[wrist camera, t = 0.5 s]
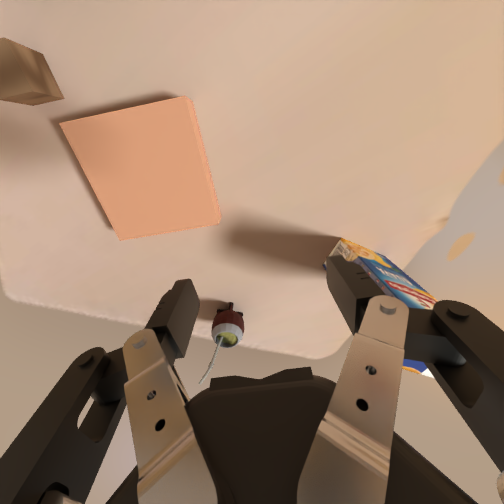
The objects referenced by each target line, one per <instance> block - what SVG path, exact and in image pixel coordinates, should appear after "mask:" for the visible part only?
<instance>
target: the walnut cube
mask: <svg viewBox="0 0 504 504" xmlns="http://www.w3.org/2000/svg"><path fill="white" fill-rule="evenodd" d="M61 99H64V97H63V95H62V93H61V91H60V89H59V87H58V85H57V83H56V81H55V78H54V76H53V74H52V72H51V70H50V68H49V66H48V64H47V62H46V60H45V58H44V56H43V54H41V53H39V52H37V51H34V50H32V49H30V48H27V47H25V46H23V45H20V44H18V43H16V42H13V41H11V40H9V39H6V38H1V39H0V100H4V101H10V102H15V103H21V104H27V105H33V106H34V105H38V104H43V103H47V102H52V101H56V100H61Z"/></svg>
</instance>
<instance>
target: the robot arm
mask: <svg viewBox="0 0 504 504" xmlns="http://www.w3.org/2000/svg"><path fill="white" fill-rule="evenodd" d="M326 272H327V284H328V288H329V290H330V292H331V294H332V296H333V298H334V300H335V302H336V303H337V305H338V307H339V309H340V311H341V313H342V315H343V317H344V319H345V321H346V322H347V324H348V326H349V328H350V330H351V332H352V334H353V336H354V337H353V340H352V343H351V346H350V348H349V351H348V354H347V357H346V360H345V362H344V365H343V368H342V370H341V373H340V376H339V379H338V381H337V383H335V382H333V381H331V380H329V379H326V378H323V377H320V376H315V375H312V370H311V367H303V368H296V369H286V370H283V371H281V372H278V373H275V374H273V375H270V376H268V377H265V378H263V379H253V378H247V377H241V376H227V377H219V378H211V382H210V387H209V388H207V389H205V390H203V391H201V392H200V393H198V394H197V395H196V396H194V397H193V398H192V399H191V400H190V398H189V396H188V394H187V392H186V389H185V387H184V385H183V383H182V381H181V378H180V376H179V374H178V372H177V370H176V368H175V366H174V361H175V359H177V358H184V356H185V353H186V350H187V347H188V344H189V340H190V337H191V334H192V330H193V327H194V324H195V321H196V317H197V314H198V311H199V307H200V302H199V298H198V295H197V293H196V290H195V288H194V285H193V283H192V281H191V279H183V280H177V281H176V282H175V284H174V286H173V288H172V290H169V291H168V292H167V293H166V294H165V295H164V296H163V297H162V298H161V300H160V302H159V304H158V305H157V307H156V310H155V311H154V312H153V314H152V316H151V318H150V320H149V321H148V323H147V325H146V327H145V328H144V329H143V330H140V331H138V332H136V333H135V334H133V335H132V336H131V337H130V338H129V339H128V340H127V341H126V342H125V344H124V346H123V347H122V348H119V349H117V350H114V351H112V352H109V353H106V351H105V350H104V349H103V348H101V347H96V348H92V349H90V350H88V351H86V352H84V353H83V354H81V355H80V356H79V357H78V358H76V359H75V361H73V363H72V364H71V365H70V366H69V368H68V369H67V370H66V372H65V373H64V374H63V376H62V377H61V378H60V380H59V381H58V382H57V384H56V385H55V386H54V388H53V389H52V390H51V392H50V393H49V395H48V396H47V397H46V398H45V400H44V401H43V403H42V404H41V405H40V406H39V408H38V409H37V411H36V412H35V413H34V414H33V416H32V417H31V419H30V420H29V421H28V422H27V424H26V425H25V427H24V428H23V429H22V431H21V432H20V433H19V434H18V436H17V437H16V438H15V440H14V441H13V442H12V444H11V445H10V447H9V448H8V449H7V450H6V452H5V453H4V454H3V456H2V457H1V458H0V504H85V501H86V499H87V497H88V495H89V492H90V490H91V487H92V485H93V483H94V480H95V478H96V475H97V473H98V471H99V468H100V466H101V464H102V461H103V459H104V457H105V454H106V452H107V449H108V447H109V445H110V442H111V440H112V438H113V435H114V433H115V430H116V428H117V426H118V423H119V421H120V419H121V416H122V414H123V412H124V409H125V406H126V405H127V408H128V413H129V419H130V425H131V431H132V437H133V442H134V448H135V453H136V460H137V465H136V466H135V468H134V469H133V470H132V472H131V473H130V474H129V475H128V476H127V478H126V479H125V480H124V481H123V483H122V484H121V485H120V486H119V488H118V489H117V490H116V491H115V492H114V494H113V495H112V496H111V497H110V499H109V500H108V501H107V502H106V504H478V503H477V502H476V501H474V500H473V499H472V498H471V497H470V496H469V495H467V494H466V493H465V492H464V491H463V490H461V488H459V487H458V486H457V485H456V484H455V483H453V482H452V481H451V480H450V479H449V478H448V477H447V476H445V475H444V474H443V473H442V472H441V471H440V470H438V469H437V468H436V467H435V466H434V465H433V464H431V463H430V462H429V461H428V460H427V459H426V458H425V457H423V456H422V455H421V454H420V453H419V452H418V451H416V450H415V449H414V448H413V447H412V446H410V445H409V444H408V443H407V442H406V441H405V440H404V439H402V438H401V437H400V436H399V435H398V434H397V433H395V432H394V424H395V417H396V409H397V402H398V395H399V388H400V380H401V373H402V366H403V359H408V360H414V361H420V362H424V364H425V365H426V367H427V368H428V369H429V371H430V372H431V374H432V375H433V376H434V378H435V379H436V381H437V382H438V384H439V385H440V386H441V388H442V389H443V391H444V392H445V393H446V395H447V396H448V398H449V399H450V401H451V402H452V403H453V405H454V406H455V408H456V409H457V410H458V412H459V413H460V415H461V416H462V418H463V419H464V420H465V422H466V423H467V425H468V426H469V427H470V429H471V430H472V432H473V433H474V435H475V436H476V437H477V439H478V440H479V442H480V443H481V445H482V446H483V447H484V449H485V450H486V452H487V453H488V455H489V456H490V457H491V459H492V460H493V462H494V463H495V464H496V466H497V467H498V469H499V470H500V471H501V474H499V476H498V478H497V489H498V493H499V496H500V498H501V500H502V502H503V504H504V331H503V330H501V329H500V328H499V327H498V326H496V325H495V324H494V323H493V322H491V321H490V320H489V319H487V317H485V316H484V315H483V314H482V313H480V312H479V311H478V310H476V309H475V308H473V307H471V306H469V305H467V304H464V303H461V302H457V301H452V300H442V301H438V302H436V303H435V304H434V306H433V309H432V310H431V309H420V308H411V307H407V305H406V304H405V303H404V302H402V301H401V300H399V299H397V298H395V297H391V296H387V295H386V294H385V293H384V292H383V291H382V290H381V288H380V287H379V286H378V285H377V284H376V283H375V282H374V280H373V279H372V278H370V276H369V275H368V274H367V273H366V271H365V270H364V269H363V268H362V267H361V266H360V265H358V264H356V263H354V262H347V261H346V260H345V258H344V257H343V256H342V255H341V254H340V255H334V256H328V257H327V258H326ZM90 396H91V397H92V398H93V399H94V402H93V404H92V406H91V408H90V409H89V411H88V413H87V415H86V417H85V418H84V420H83V422H82V424H81V426H80V427H79V429H78V427H77V421H78V417H79V415H80V413H81V411H82V410H83V408H84V406H85V404H86V403H87V401H88V399H89V398H90Z"/></svg>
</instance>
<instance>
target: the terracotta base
mask: <svg viewBox="0 0 504 504" xmlns="http://www.w3.org/2000/svg"><path fill="white" fill-rule="evenodd" d="M59 124H60V126H61V128H62V130H63V132H64V134H65V136H66V138H67V140H68V142H69V144H70V145H71V147H72V149H73V151H74V153H75V155H76V157H77V159H78V161H79V163H80V165H81V167H82V169H83V171H84V173H85V174H86V176H87V178H88V180H89V182H90V184H91V186H92V188H93V190H94V192H95V194H96V196H97V198H98V200H99V202H100V203H101V205H102V207H103V209H104V211H105V213H106V215H107V217H108V219H109V221H110V223H111V225H112V227H113V229H114V231H115V232H116V234H117V236H118V238H119V240H120V241H121V240H127V239H133V238H139V237H145V236H151V235H157V234H163V233H169V232H175V231H181V230H187V229H193V228H199V227H205V226H211V225H217V224H219V222H220V219H221V213H220V209H219V205H218V201H217V197H216V193H215V189H214V185H213V181H212V177H211V173H210V169H209V165H208V161H207V157H206V153H205V149H204V145H203V141H202V137H201V133H200V129H199V125H198V121H197V117H196V113H195V109H194V105H193V101H192V100H190V99H189V98H187V97H186V96H181V97H177V98H172V99H167V100H163V101H158V102H154V103H149V104H144V105H140V106H135V107H131V108H126V109H122V110H117V111H112V112H108V113H103V114H99V115H94V116H89V117H85V118H80V119H76V120H71V121H66V122H62V123H59Z"/></svg>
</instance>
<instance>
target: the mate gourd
mask: <svg viewBox="0 0 504 504" xmlns="http://www.w3.org/2000/svg"><path fill="white" fill-rule="evenodd" d="M232 309H233V303H232V302H231V303H230V306H229V310H220V309H218V310H217V315H216V316H215V318H214V321H213V324H212V337H213V340H214V341H215V343H216V344H217V347H216V350H215V353H214V355H213V358H212V361H211V362H210V364H209V368H208V370H207V372H206V373H205V375H204V376H203V378H202V379H201V381H200V382H199V384H200V385H201V384H202V382H203V381H204V379H205V378H206V377H207V375H208V374H209V372H210V370H211V368H212V367H213V365H214V360H215V358H216V355H217V352H218V349H219V347H220V346H221V347H223V348H231V347H234V346H236V345H237V344H238V343H239V342H240V341H241V340H242V336H243V333H244V322H243V318H242V316H243V313H241V312H235V311H233V310H232Z"/></svg>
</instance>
